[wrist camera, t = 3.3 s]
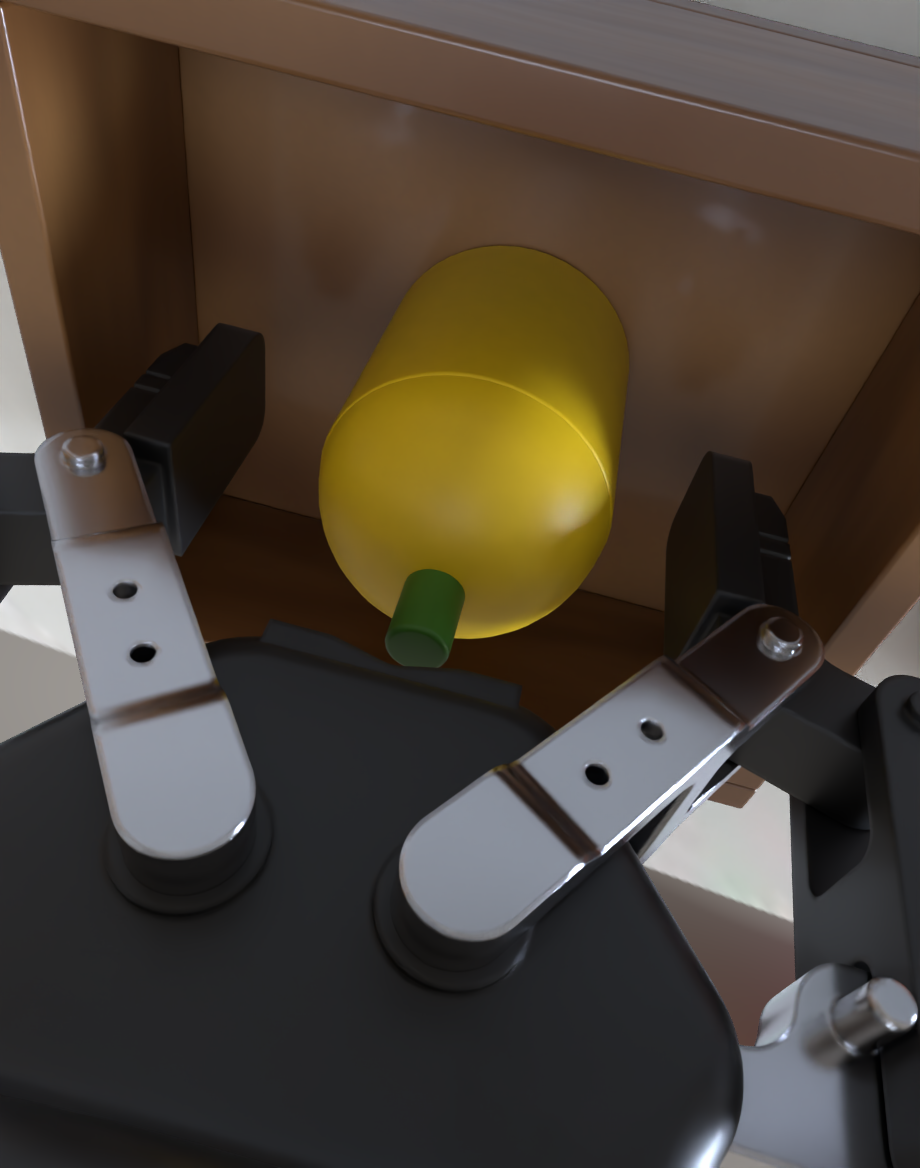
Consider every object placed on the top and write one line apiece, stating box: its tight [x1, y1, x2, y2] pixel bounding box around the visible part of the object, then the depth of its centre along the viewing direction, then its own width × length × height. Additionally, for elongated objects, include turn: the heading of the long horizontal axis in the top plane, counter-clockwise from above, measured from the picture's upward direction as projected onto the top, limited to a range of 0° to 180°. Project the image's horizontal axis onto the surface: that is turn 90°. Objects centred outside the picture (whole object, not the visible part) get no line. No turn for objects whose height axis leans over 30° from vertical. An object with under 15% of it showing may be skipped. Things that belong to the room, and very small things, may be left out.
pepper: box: [319, 246, 629, 668], centre depth 14 cm, size 5×5×8 cm
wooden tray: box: [0, 0, 920, 808], centre depth 15 cm, size 13×15×5 cm
